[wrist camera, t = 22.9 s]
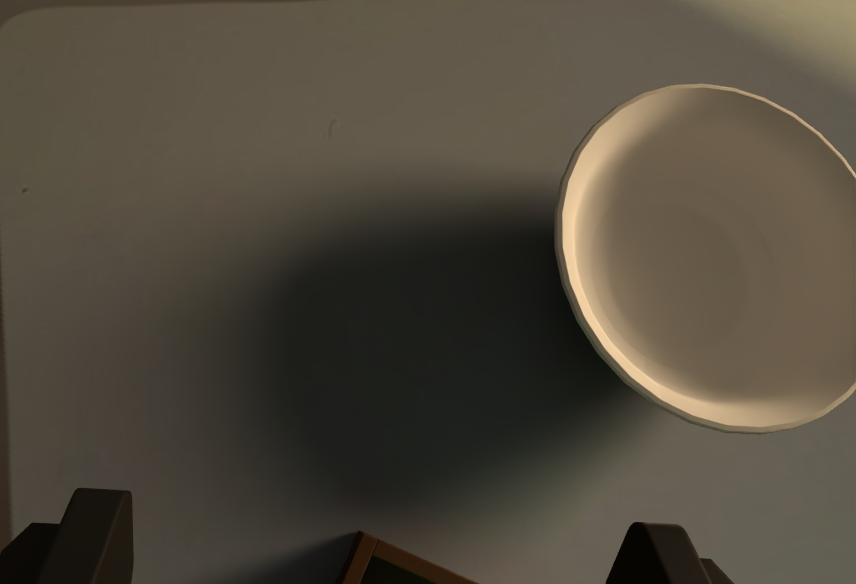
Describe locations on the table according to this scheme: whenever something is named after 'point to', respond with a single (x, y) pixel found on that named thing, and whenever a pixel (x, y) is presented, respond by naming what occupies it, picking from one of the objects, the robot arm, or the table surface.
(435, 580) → the tray
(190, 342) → the table surface
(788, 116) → the bowl
